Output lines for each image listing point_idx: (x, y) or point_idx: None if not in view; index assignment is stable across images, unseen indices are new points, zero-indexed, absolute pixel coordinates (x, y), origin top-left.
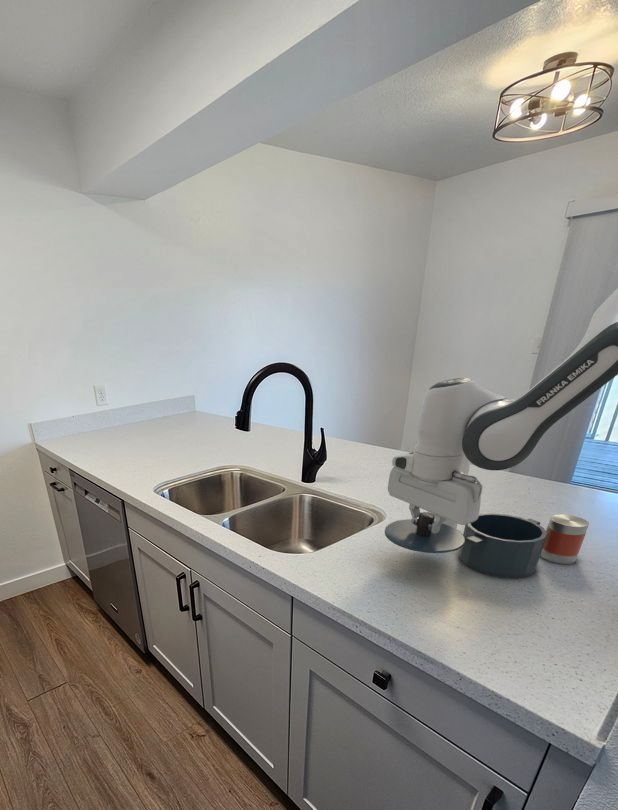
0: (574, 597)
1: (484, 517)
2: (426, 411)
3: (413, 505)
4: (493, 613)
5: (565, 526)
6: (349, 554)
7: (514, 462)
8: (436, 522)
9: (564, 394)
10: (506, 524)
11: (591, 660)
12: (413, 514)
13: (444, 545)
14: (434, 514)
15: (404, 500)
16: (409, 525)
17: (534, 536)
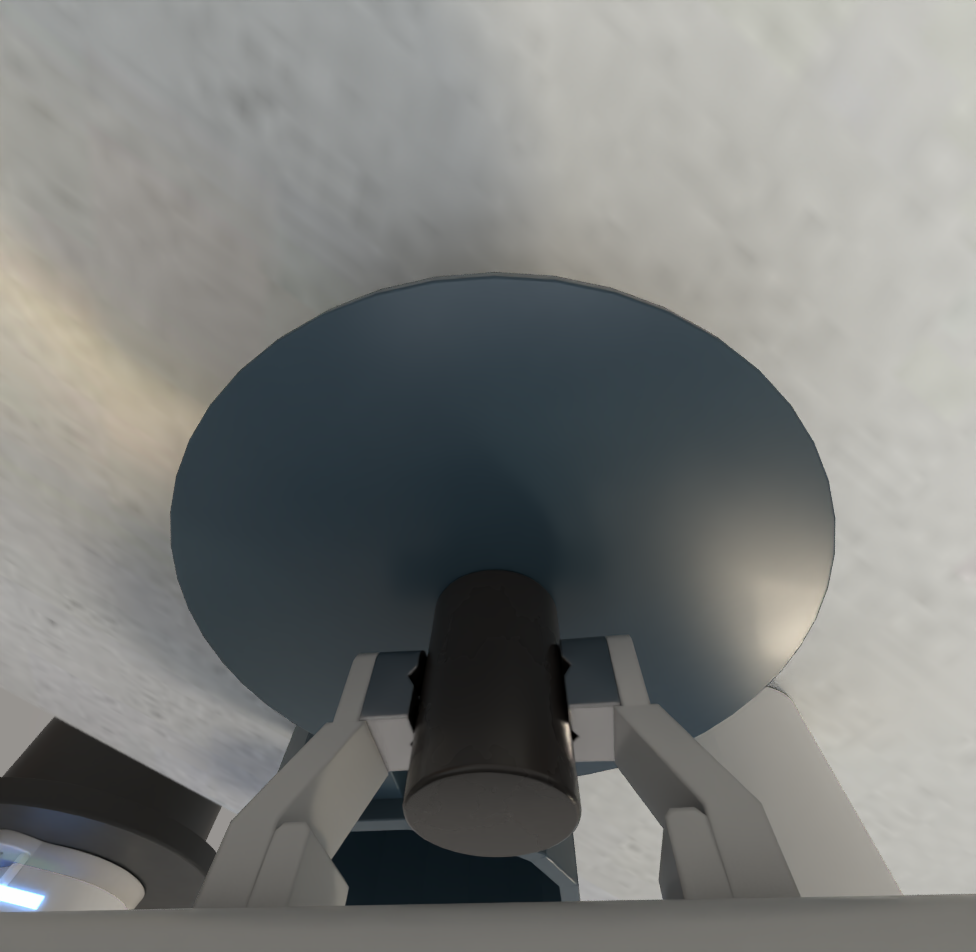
0: (180, 732)
1: (556, 901)
2: None
3: (704, 884)
4: (66, 486)
5: None
6: (884, 134)
7: None
8: (289, 778)
9: None
10: (502, 896)
11: None
12: (641, 735)
13: (264, 615)
14: (782, 797)
15: (925, 927)
16: (685, 619)
17: (386, 891)
